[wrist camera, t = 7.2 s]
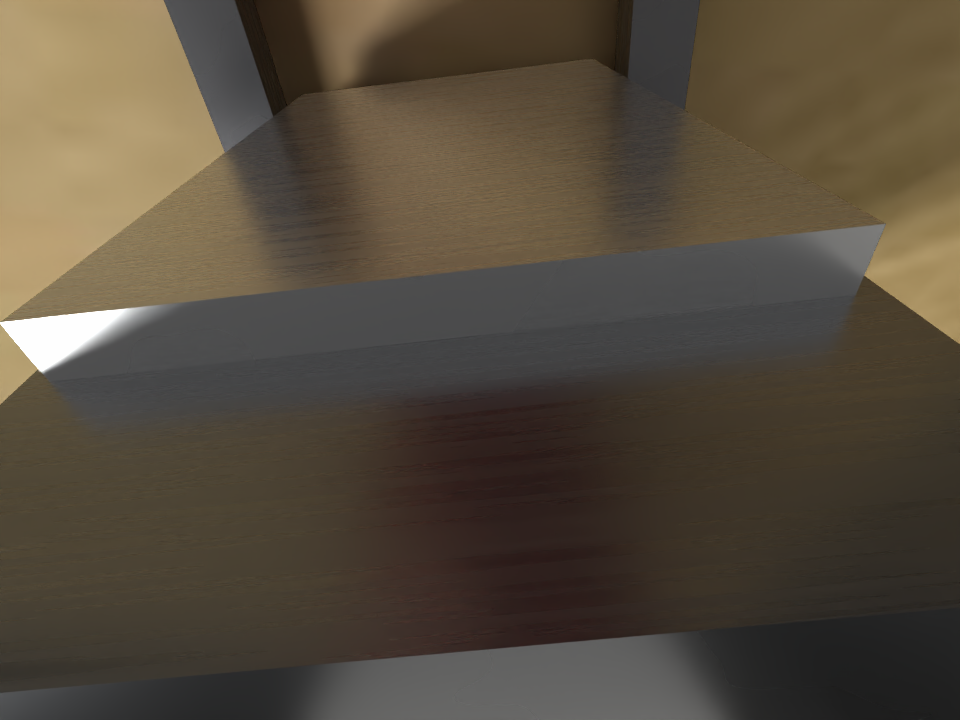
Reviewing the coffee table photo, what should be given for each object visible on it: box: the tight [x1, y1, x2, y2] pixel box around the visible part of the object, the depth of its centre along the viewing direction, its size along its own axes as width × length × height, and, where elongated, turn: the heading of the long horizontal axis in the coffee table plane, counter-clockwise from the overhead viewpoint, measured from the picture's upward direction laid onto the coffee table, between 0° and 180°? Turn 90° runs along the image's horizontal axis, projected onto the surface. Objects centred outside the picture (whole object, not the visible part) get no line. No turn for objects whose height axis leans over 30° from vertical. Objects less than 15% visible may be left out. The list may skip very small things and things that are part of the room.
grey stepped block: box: [0, 59, 960, 720], centre depth 8 cm, size 6×8×11 cm
